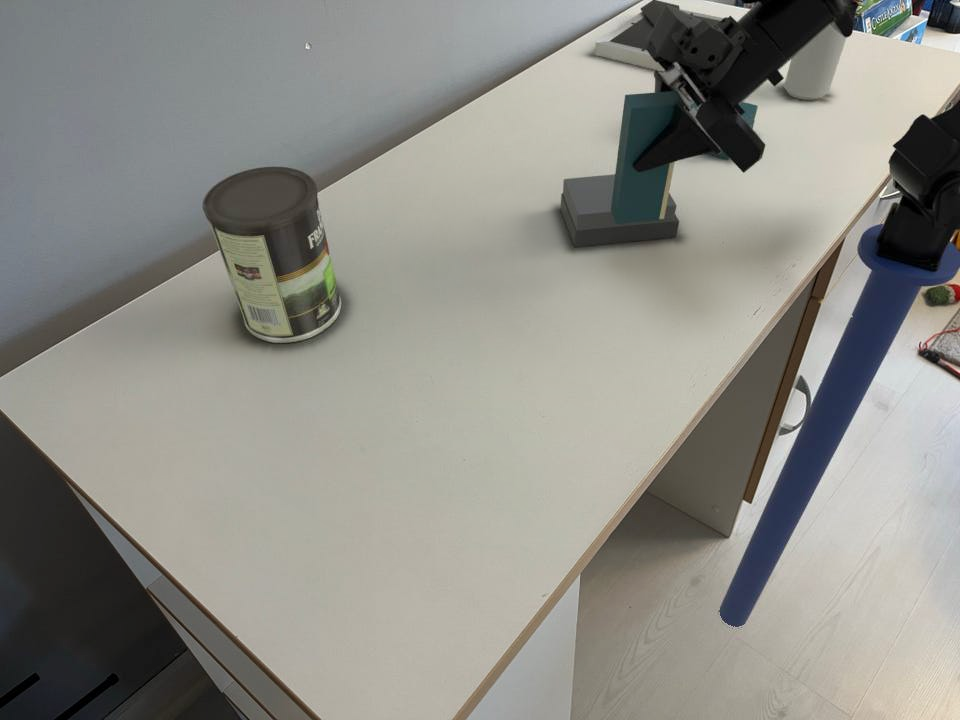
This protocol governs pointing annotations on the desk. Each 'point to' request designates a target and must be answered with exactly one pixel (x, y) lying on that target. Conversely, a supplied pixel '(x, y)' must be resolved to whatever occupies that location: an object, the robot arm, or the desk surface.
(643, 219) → the teal book
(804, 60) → the beverage can
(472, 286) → the desk surface
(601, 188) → the grey books
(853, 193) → the desk surface
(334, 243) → the desk surface
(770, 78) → the robot arm
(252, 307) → the coffee can
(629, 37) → the picture frame
